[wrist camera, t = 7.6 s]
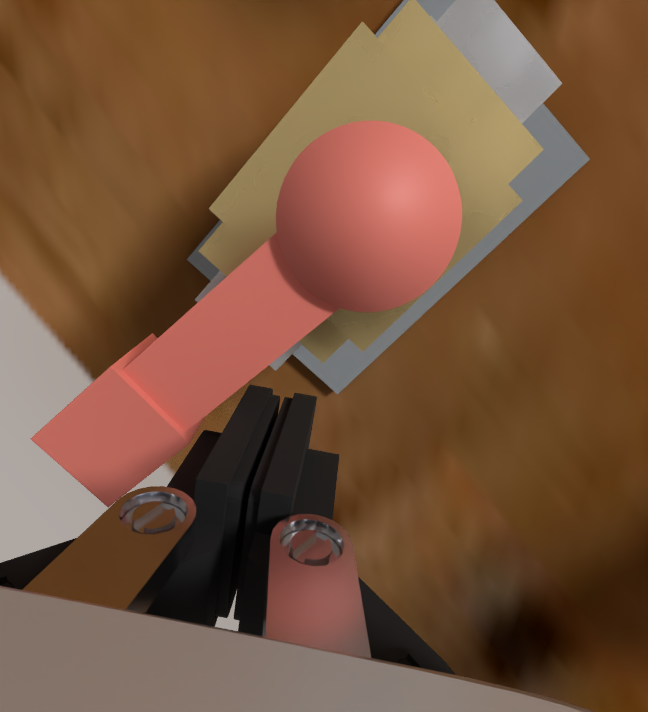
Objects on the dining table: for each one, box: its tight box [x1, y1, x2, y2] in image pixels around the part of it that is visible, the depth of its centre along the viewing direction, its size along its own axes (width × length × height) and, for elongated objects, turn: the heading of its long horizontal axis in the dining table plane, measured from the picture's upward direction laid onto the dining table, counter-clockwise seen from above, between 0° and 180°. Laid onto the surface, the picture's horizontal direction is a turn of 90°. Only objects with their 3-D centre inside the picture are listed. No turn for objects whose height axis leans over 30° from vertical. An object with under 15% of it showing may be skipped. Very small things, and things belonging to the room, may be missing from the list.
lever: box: [31, 121, 462, 507], centre depth 10 cm, size 3×10×2 cm, turn 130°
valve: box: [195, 0, 562, 371], centre depth 15 cm, size 12×6×10 cm, turn 137°
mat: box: [187, 0, 589, 394], centre depth 20 cm, size 14×9×1 cm, turn 137°
